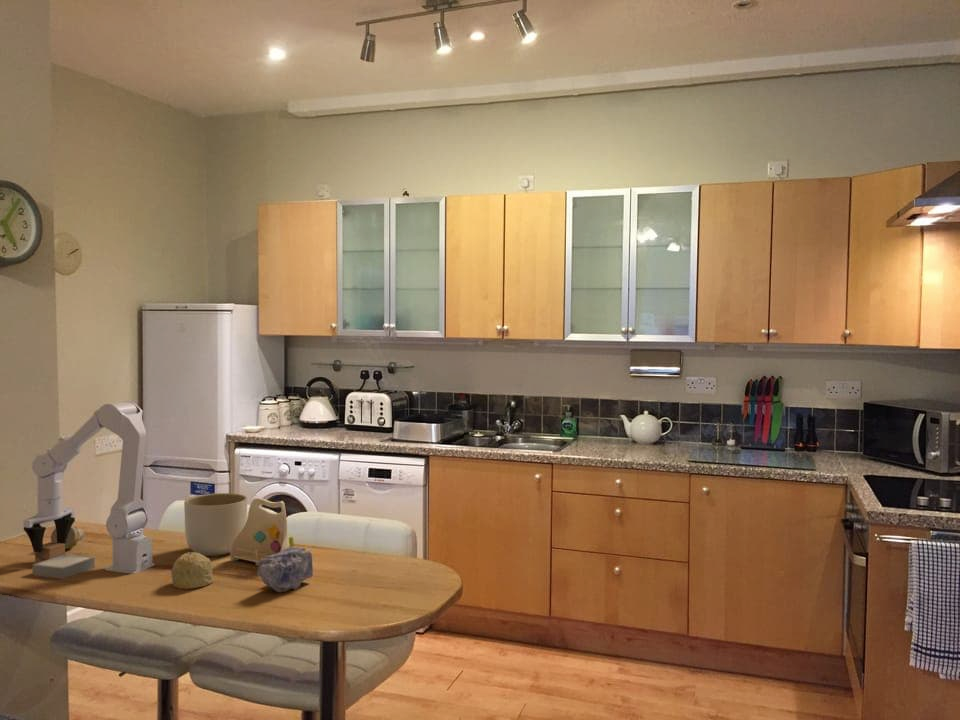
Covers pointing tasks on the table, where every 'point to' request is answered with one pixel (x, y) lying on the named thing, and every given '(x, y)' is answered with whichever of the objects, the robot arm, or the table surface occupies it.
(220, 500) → the planter
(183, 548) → the table surface
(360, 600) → the table surface
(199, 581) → the decorative object
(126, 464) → the robot arm
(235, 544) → the shape sorter
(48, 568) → the grey plinth
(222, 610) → the table surface
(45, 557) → the walnut cube
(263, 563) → the mineral
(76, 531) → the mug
